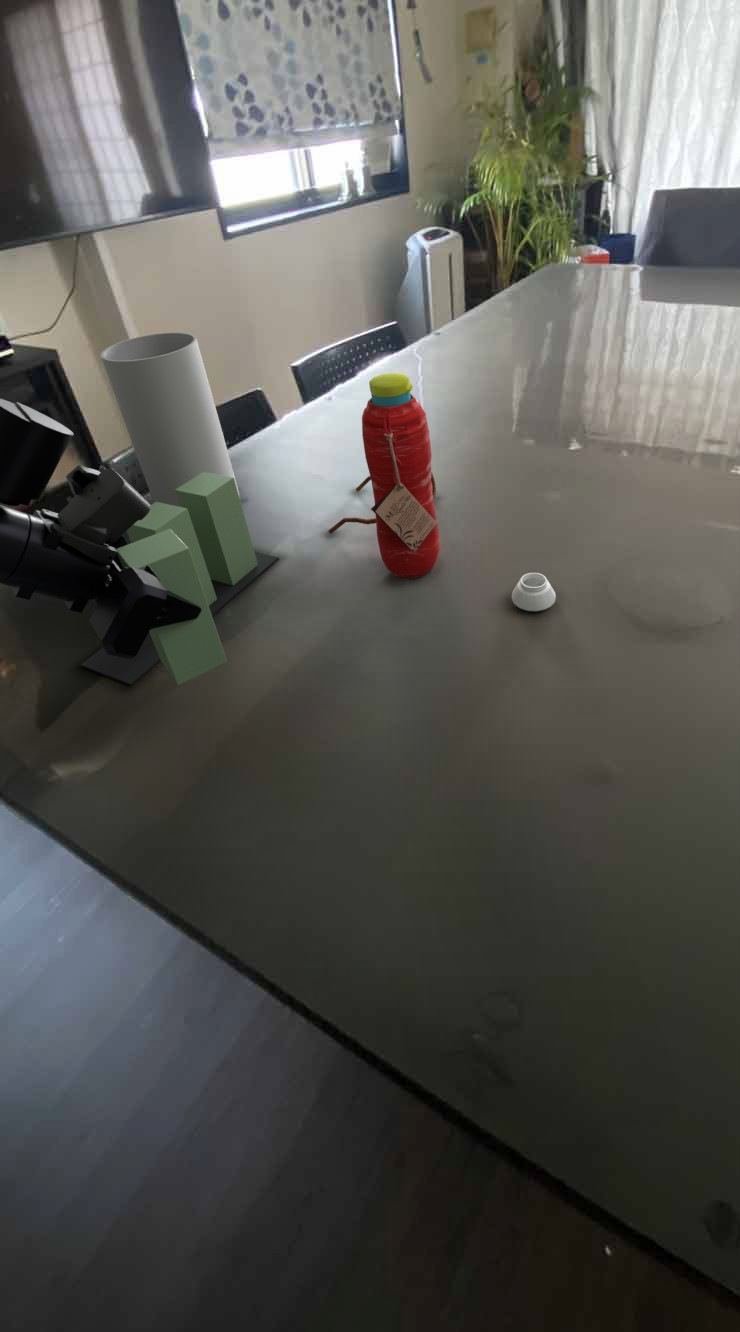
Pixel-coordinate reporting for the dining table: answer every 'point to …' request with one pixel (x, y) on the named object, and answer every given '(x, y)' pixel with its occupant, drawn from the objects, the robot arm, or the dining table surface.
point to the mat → (148, 654)
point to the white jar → (533, 593)
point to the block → (191, 641)
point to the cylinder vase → (167, 410)
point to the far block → (219, 526)
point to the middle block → (182, 527)
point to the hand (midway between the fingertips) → (188, 600)
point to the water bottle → (400, 476)
